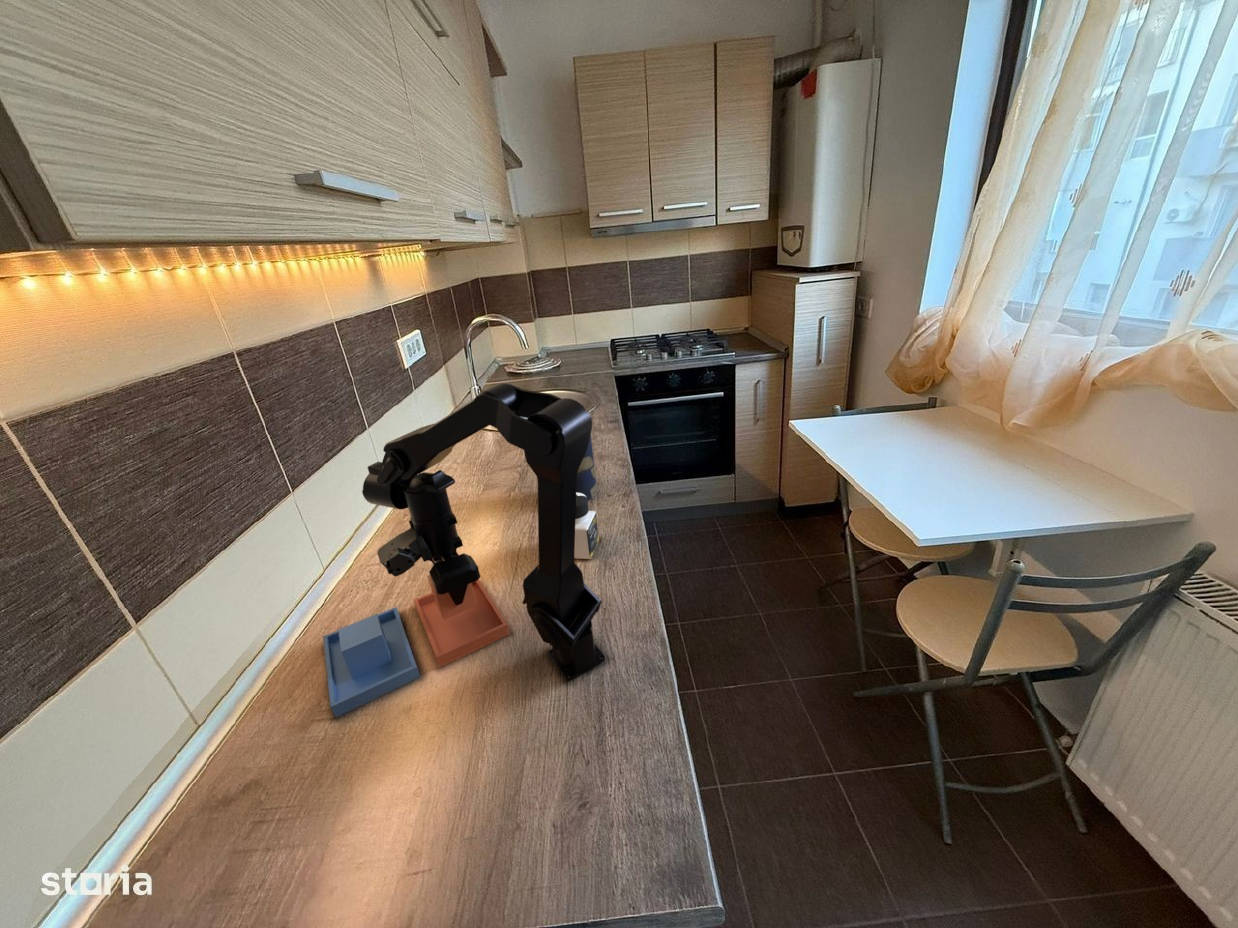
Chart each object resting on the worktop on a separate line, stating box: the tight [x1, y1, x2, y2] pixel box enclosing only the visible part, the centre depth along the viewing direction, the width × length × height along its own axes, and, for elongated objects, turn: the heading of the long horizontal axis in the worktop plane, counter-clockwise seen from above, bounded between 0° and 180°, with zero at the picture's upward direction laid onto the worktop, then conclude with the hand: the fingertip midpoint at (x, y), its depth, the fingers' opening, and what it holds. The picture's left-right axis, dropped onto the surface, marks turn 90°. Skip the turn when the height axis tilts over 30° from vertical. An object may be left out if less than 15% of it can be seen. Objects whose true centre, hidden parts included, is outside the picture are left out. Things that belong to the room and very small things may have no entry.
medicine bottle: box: [574, 493, 600, 560], centre depth 95 cm, size 7×7×12 cm
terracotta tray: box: [413, 578, 510, 668], centre depth 80 cm, size 16×11×2 cm
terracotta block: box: [427, 574, 478, 620], centre depth 78 cm, size 6×6×6 cm
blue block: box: [337, 613, 392, 679], centre depth 72 cm, size 6×6×6 cm
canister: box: [576, 435, 598, 501], centre depth 114 cm, size 10×10×18 cm
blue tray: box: [322, 606, 421, 718], centre depth 73 cm, size 16×11×2 cm
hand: (453, 594), depth 78 cm, fingers closed on terracotta block, 5 cm apart
